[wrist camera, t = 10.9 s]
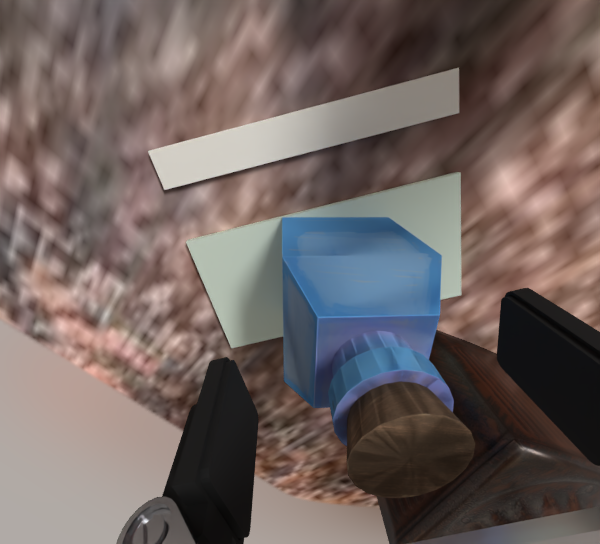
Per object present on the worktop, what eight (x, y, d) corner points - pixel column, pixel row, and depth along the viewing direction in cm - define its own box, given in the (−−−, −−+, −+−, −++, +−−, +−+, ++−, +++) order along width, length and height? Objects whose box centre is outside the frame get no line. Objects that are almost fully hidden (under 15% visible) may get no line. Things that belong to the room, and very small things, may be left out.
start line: (150, 151, 15) (147, 151, 15) (455, 69, 14) (458, 67, 14) (166, 189, 16) (164, 190, 16) (456, 113, 15) (459, 113, 15)
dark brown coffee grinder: (346, 421, 25) (476, 987, 8) (423, 320, 21) (962, 1006, 4) (484, 464, 28) (767, 917, 12) (572, 385, 24) (1177, 893, 8)
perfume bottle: (388, 217, 17) (582, 355, 6) (375, 308, 19) (495, 522, 9) (282, 217, 17) (282, 365, 6) (283, 310, 19) (285, 535, 8)
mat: (188, 239, 17) (185, 241, 17) (456, 171, 16) (460, 172, 16) (232, 344, 21) (231, 348, 20) (458, 292, 20) (461, 294, 19)
